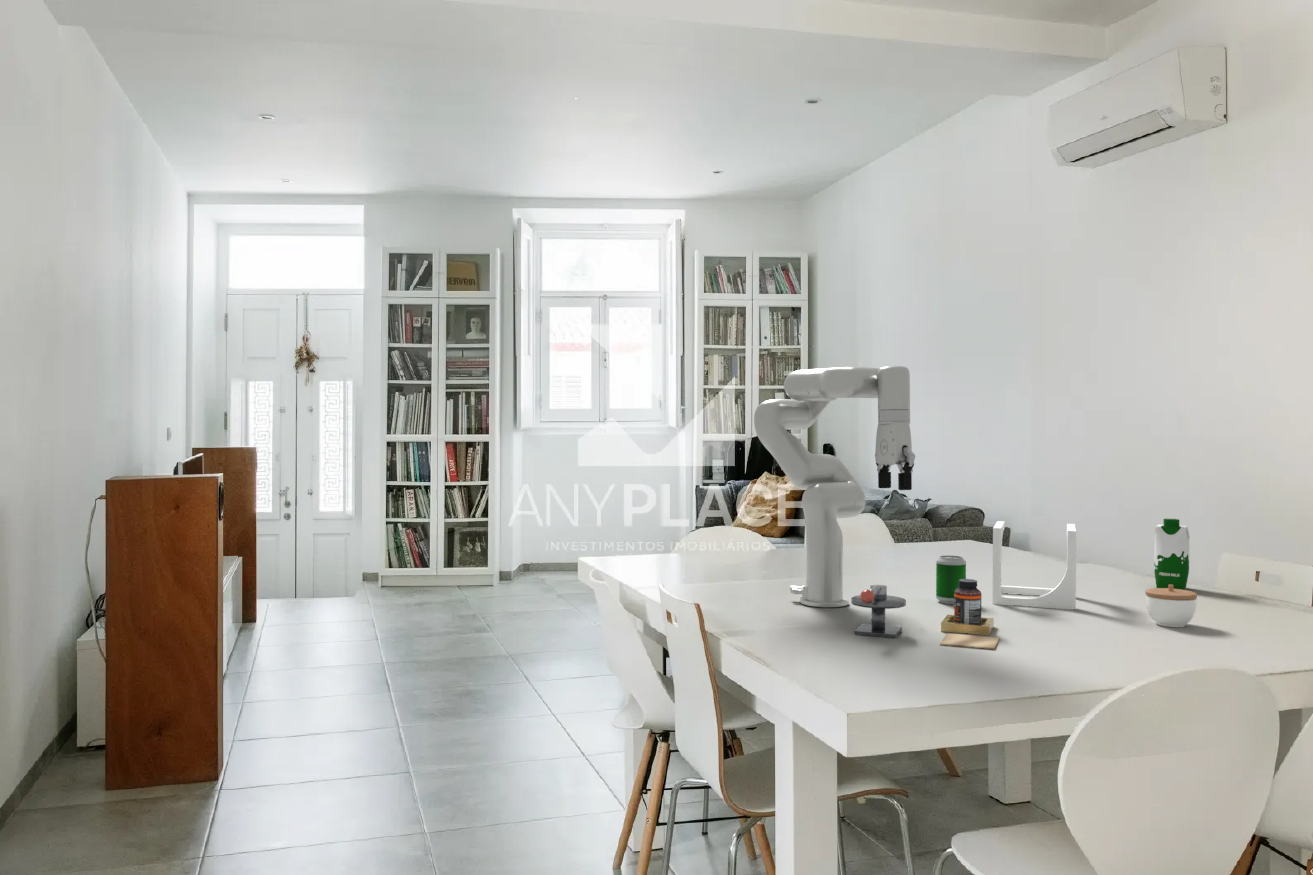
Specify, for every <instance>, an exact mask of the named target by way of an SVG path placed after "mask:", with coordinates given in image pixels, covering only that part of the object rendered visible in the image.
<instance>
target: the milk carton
mask: <svg viewBox="0 0 1313 875" xmlns="http://www.w3.org/2000/svg"><path fill="white" fill-rule="evenodd" d="M1153 556H1154V560H1153V561H1154V562H1153V563H1154V564H1153V565H1154V567H1153V568H1154V569H1153V570H1154V579H1155V585H1156V586H1155V588H1169V585H1173V589H1181V590H1186V588H1187V584H1188V578H1189V574H1190V531H1189V526H1188V525H1181V524H1180V519H1179V518H1164V519H1163V524H1159V523H1158V524H1156V526H1155V530H1154V554H1153Z"/></svg>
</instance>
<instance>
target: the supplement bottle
mask: <svg viewBox="0 0 1313 875" xmlns="http://www.w3.org/2000/svg"><path fill="white" fill-rule="evenodd" d="M953 605H954V607H953V609H954V610H953V611H954V612H953V615H954V623H964V624H976V625H981V617H982V592H981V590H980V589H979V588H978V581H977V580H976V579H972V578H966V579H960V580H959V587H958V589H956V590H955V593H954V604H953Z"/></svg>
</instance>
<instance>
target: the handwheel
mask: <svg viewBox="0 0 1313 875" xmlns="http://www.w3.org/2000/svg"><path fill="white" fill-rule="evenodd" d="M887 586H888V585H885V584H871V585H870V589H864V590H862V591H861V592H860V594H859V595H854V596H852V597H851V598H850V599H851V600H850V601H851V604H852V605H853V606H857V607H862V608H869V609H872V608H878V609H885V610H886V609H887V610H888V609H899V608H900V609H901V608H904V607H906V606H907V600H906V599H905V598H903V597H900V596H895V595H890V594H889V595H887V594H888V593H887V590H888V587H887Z"/></svg>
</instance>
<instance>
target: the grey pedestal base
mask: <svg viewBox="0 0 1313 875" xmlns="http://www.w3.org/2000/svg"><path fill="white" fill-rule="evenodd" d="M902 631H903V627H902V626H896V625H886V609H878V608H871V623H862V624H860V625H859V626H858V627H857V628H856V629H854V631H853V635H854V634H855V636H866V637H867V636H868V637H879V638H889V639H890V638H891V639H896V637H898V636H899V634H901V632H902Z"/></svg>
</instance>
